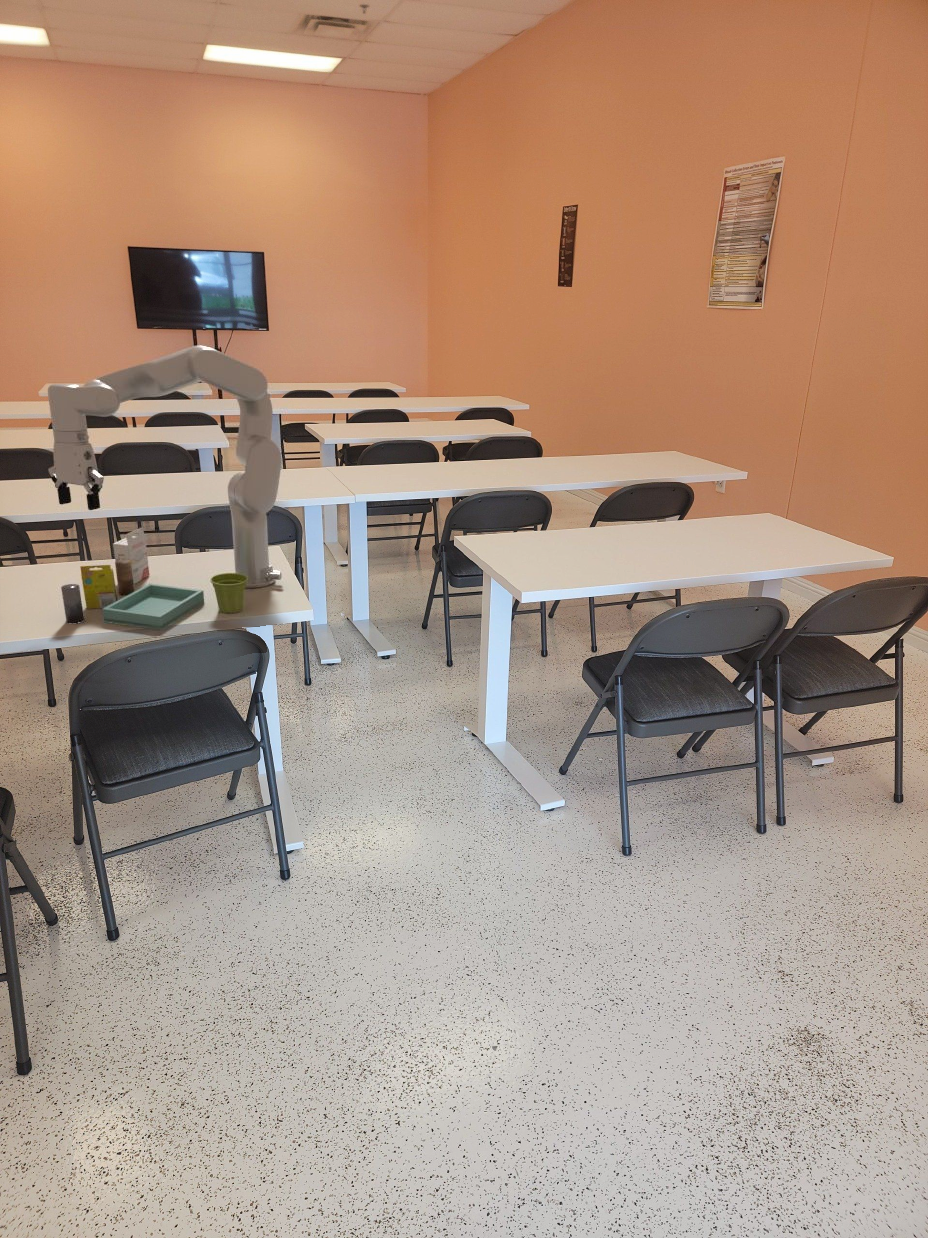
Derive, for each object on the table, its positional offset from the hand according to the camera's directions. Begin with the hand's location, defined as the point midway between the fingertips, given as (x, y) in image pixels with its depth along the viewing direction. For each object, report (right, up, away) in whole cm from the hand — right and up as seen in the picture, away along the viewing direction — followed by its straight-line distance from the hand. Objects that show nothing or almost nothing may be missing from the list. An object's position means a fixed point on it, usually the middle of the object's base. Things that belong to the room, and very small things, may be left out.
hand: (79, 506), depth 199 cm
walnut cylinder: (+4, -21, +18) cm, 28 cm away
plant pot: (+35, -26, +11) cm, 45 cm away
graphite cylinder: (-1, -29, -1) cm, 29 cm away
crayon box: (+2, -25, +9) cm, 27 cm away
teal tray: (+16, -26, +7) cm, 32 cm away
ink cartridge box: (+1, -17, +29) cm, 34 cm away
